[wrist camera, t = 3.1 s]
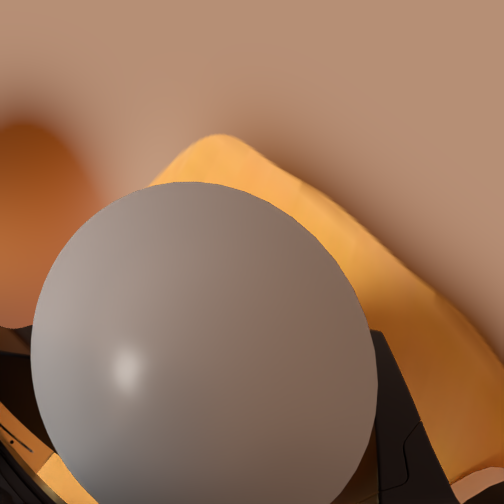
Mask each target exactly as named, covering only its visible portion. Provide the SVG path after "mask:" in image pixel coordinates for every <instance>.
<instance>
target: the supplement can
mask: <svg viewBox="0 0 504 504" xmlns="http://www.w3.org/2000/svg"><path fill="white" fill-rule="evenodd" d="M450 486H451V488H452V490H453V492H454V494H455V496H456V498H457V499H458V501H459V502H460V503H461V504H504V468H500V467H489V468H486V469H483V470H479V471H476V472H473V473H471V474H469V475H468V476H466V477H464V478H463V479H461V480H459V481H457V482H455V483H453V484H452V485H450Z"/></svg>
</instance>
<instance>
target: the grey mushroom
mask: <svg viewBox="0 0 504 504" xmlns="http://www.w3.org/2000/svg"><path fill="white" fill-rule="evenodd" d="M31 370H32V380H33V386H34V391H35V397H36V400H37V404H38V408H39V411H40V415H41V417H42V420H43V423H44V425H45V428H46V430H47V433H48V435H49V437H50V439H51V441H52V443H53V445H54V447H55V449H56V451H57V453H58V454H59V456H60V457H61V459H62V461H63V462H64V464H65V465H66V467H67V468H68V470H69V471H70V472H71V473H72V475H73V476H74V477H75V479H76V480H77V481H78V482H79V483H80V485H81V486H82V487H83V488H84V489H85V490H86V491H87V492H88V493H89V494H90V495H91V496H92V497H93V498H94V499H95V500H96V501H98V502H99V503H100V504H330V503H331V502H332V501H333V500H334V499H335V498H336V497H337V496H338V495H339V494H340V493H341V491H342V490H343V489H344V487H345V486H346V484H347V483H348V482H349V480H350V479H351V477H352V476H353V474H354V473H355V471H356V469H357V467H358V465H359V463H360V461H361V459H362V457H363V454H364V452H365V450H366V447H367V445H368V442H369V439H370V435H371V431H372V427H373V423H374V419H375V415H376V403H377V389H378V379H377V368H376V357H375V350H374V346H373V342H372V338H371V334H370V330H369V326H368V323H367V319H366V317H365V314H364V312H363V310H362V307H361V305H360V303H359V300H358V298H357V296H356V294H355V291H354V289H353V287H352V286H351V284H350V283H349V281H348V279H347V278H346V276H345V275H344V273H343V271H342V270H341V268H340V267H339V265H338V264H337V262H336V261H335V259H334V258H333V257H332V256H331V255H330V254H329V252H328V251H327V250H326V249H325V248H324V247H323V245H322V244H321V243H320V242H319V241H318V240H317V239H316V237H315V236H313V235H312V234H311V233H310V232H309V231H308V230H306V229H305V228H304V227H303V226H302V225H301V224H300V223H298V222H297V221H296V220H295V219H294V218H293V217H291V216H289V215H288V214H286V213H285V212H283V211H282V210H280V209H278V208H277V207H275V206H274V205H272V204H271V203H269V202H267V201H265V200H262V199H260V198H258V197H256V196H253V195H251V194H249V193H247V192H244V191H241V190H237V189H234V188H230V187H227V186H223V185H218V184H210V183H202V182H173V183H167V184H161V185H155V186H151V187H148V188H145V189H142V190H138V191H135V192H133V193H131V194H128V195H126V196H124V197H122V198H120V199H118V200H116V201H114V202H113V203H111V204H110V205H108V206H106V207H105V208H103V209H102V210H100V211H99V212H98V213H96V214H95V215H94V216H93V217H92V218H90V219H89V220H88V221H87V222H86V223H85V224H84V225H83V226H82V227H81V228H80V229H79V230H78V231H77V232H76V233H75V234H74V235H73V236H72V237H71V239H70V240H69V241H68V243H67V244H66V245H65V247H64V248H63V249H62V251H61V252H60V254H59V255H58V257H57V259H56V260H55V262H54V264H53V265H52V267H51V269H50V271H49V274H48V276H47V278H46V280H45V282H44V285H43V288H42V291H41V294H40V296H39V300H38V303H37V307H36V311H35V316H34V320H33V328H32V336H31Z"/></svg>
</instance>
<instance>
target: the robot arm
mask: <svg viewBox="0 0 504 504" xmlns="http://www.w3.org/2000/svg"><path fill="white" fill-rule="evenodd" d="M32 328H33V325H30V326H27V327H23V328H18V329H10V328H5V327H1V326H0V504H67V503H66V502H65V501H63V500H62V499H61V498H60V497H59V496H58V495H57V494H56V493H55V492H54V491H53V490H52V489H51V488H50V487H49V486H48V485H47V484H46V483H45V482H44V481H43V480H42V479H41V478H40V477H39V476H38V475H37V472H38V471H39V470H40V469H41V468H42V466H43V465H44V464H45V463H46V462H47V460H48V459H49V458H50V457H51V456H52V454H53V453H54V452H55V453H56V454H58V453H57V451H56V449H55V447H54V445H53V443H52V441H51V439H50V437H49V435H48V433H47V430H46V428H45V425H44V423H43V420H42V417H41V415H40V411H39V408H38V404H37V400H36V397H35V391H34V386H33V380H32V370H31V336H32ZM369 330H370V334H371V338H372V342H373V346H374V350H375V357H376V368H377V379H378V389H377V403H376V415H375V419H374V423H373V427H372V431H371V435H370V439H369V442H368V445H367V447H366V450H365V452H364V454H363V457H362V459H361V461H360V463H359V465H358V467H357V469H356V471H355V473H354V474H353V476H352V477H351V479H350V480H349V482H348V483H347V484H346V486H345V487H344V489H343V490H342V491H341V493H340V494H339V495H338V496H337V497H336V498H335V499H334V500H333V501H332V502H331V503H330V504H461V503H460V502H459V501H458V499H457V498H456V496H455V494H454V492H453V490H452V488H451V486H450V484H449V481H448V479H447V477H446V475H445V473H444V471H443V469H442V467H441V465H440V463H439V461H438V459H437V456H436V454H435V452H434V450H433V448H432V446H431V443H430V441H429V438H428V436H427V434H426V431H425V429H424V426H423V423H422V421H420V420H421V419H420V416H419V414H418V411H417V409H416V406H415V404H414V401H413V399H412V397H411V394H410V392H409V390H408V387H407V385H406V383H405V380H404V378H403V376H402V374H401V372H400V369H399V367H398V365H397V363H396V361H395V358H394V356H393V354H392V352H391V350H390V348H389V346H388V344H387V342H386V339H385V337H384V335H383V333H382V332H381V331H377V330H373V329H369ZM58 455H59V454H58Z"/></svg>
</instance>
